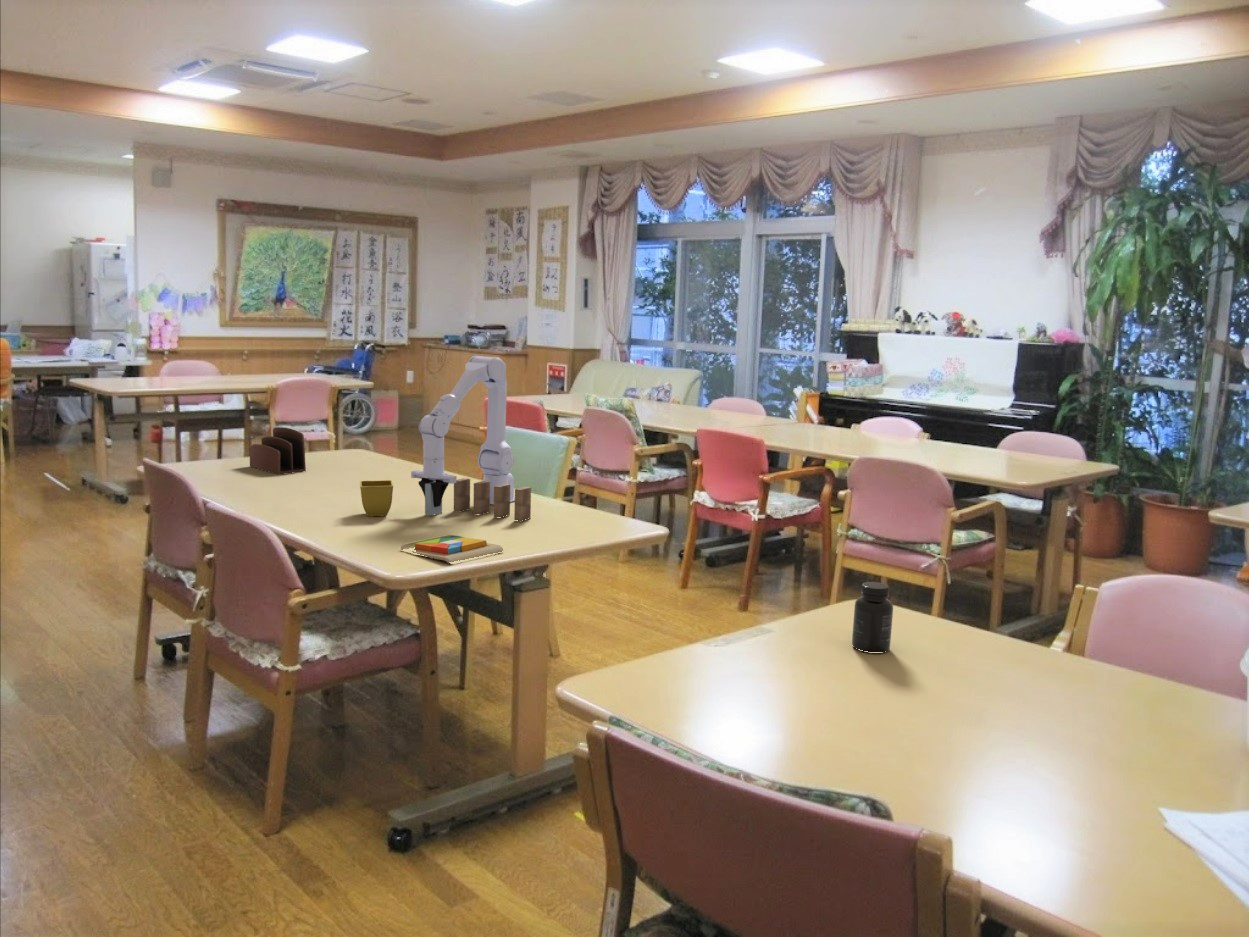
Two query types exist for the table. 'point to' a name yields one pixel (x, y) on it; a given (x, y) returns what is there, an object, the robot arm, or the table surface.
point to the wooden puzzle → (452, 547)
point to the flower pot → (376, 497)
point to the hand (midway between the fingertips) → (433, 505)
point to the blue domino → (430, 501)
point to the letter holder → (280, 452)
